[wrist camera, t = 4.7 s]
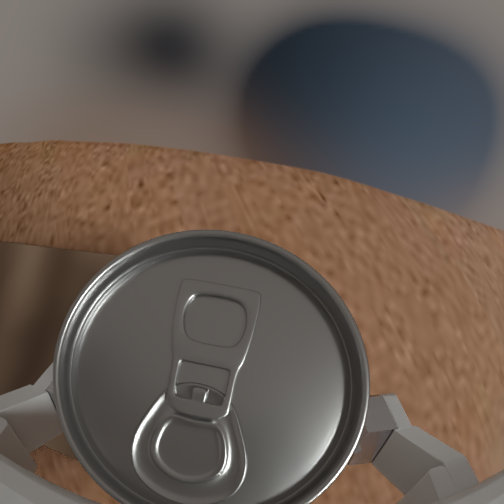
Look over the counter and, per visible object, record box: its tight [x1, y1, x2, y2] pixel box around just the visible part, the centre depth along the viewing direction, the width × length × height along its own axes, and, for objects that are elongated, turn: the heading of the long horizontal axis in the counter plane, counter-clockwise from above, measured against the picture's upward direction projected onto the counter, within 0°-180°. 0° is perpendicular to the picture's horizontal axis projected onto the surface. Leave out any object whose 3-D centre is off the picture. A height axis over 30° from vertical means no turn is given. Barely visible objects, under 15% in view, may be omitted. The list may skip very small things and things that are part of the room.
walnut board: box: [0, 241, 119, 460], centre depth 14 cm, size 14×13×1 cm
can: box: [53, 230, 370, 504], centre depth 9 cm, size 6×6×12 cm
